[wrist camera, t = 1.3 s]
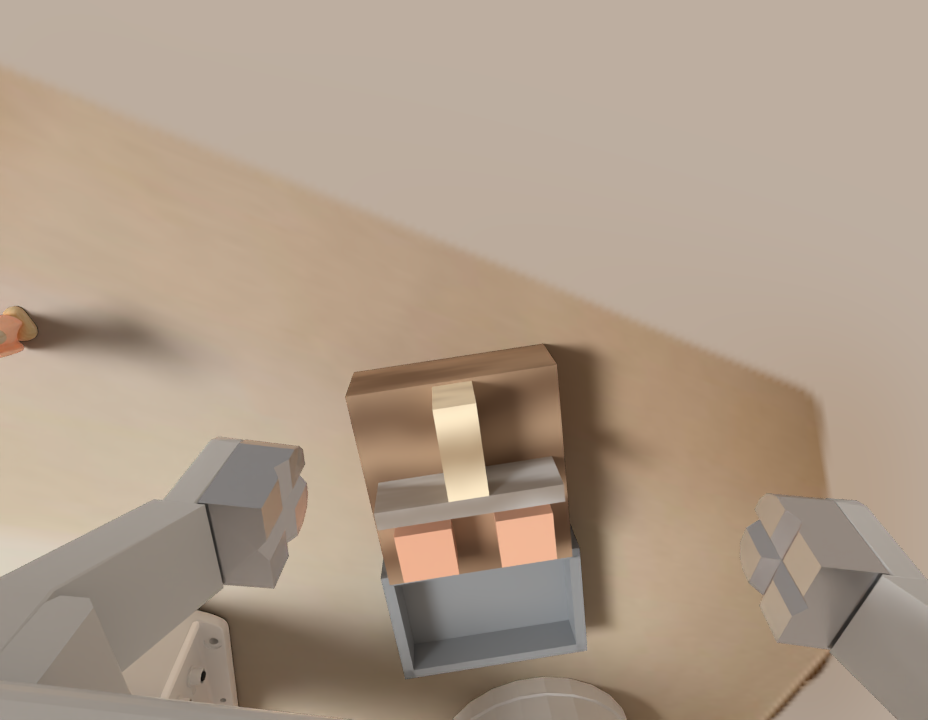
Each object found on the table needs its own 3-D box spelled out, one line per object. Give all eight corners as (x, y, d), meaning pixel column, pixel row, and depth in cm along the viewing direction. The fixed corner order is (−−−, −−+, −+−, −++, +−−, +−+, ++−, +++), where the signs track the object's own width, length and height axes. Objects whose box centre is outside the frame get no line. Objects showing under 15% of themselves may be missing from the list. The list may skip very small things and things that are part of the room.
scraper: (553, 472, 43) (565, 501, 39) (382, 498, 43) (377, 530, 39) (544, 369, 40) (556, 391, 36) (359, 397, 40) (351, 422, 36)
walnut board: (559, 520, 51) (572, 556, 46) (393, 546, 50) (389, 585, 46) (543, 343, 44) (556, 364, 40) (353, 372, 44) (345, 396, 40)
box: (577, 621, 55) (587, 650, 52) (406, 648, 55) (405, 679, 52) (569, 523, 51) (579, 547, 48) (384, 552, 51) (380, 578, 47)
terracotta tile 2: (457, 553, 45) (459, 574, 43) (405, 561, 45) (404, 583, 43) (449, 509, 43) (451, 528, 41) (395, 517, 43) (393, 537, 41)
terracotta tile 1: (550, 538, 45) (557, 559, 43) (498, 546, 45) (502, 567, 43) (546, 494, 44) (552, 513, 41) (492, 502, 44) (495, 521, 41)
